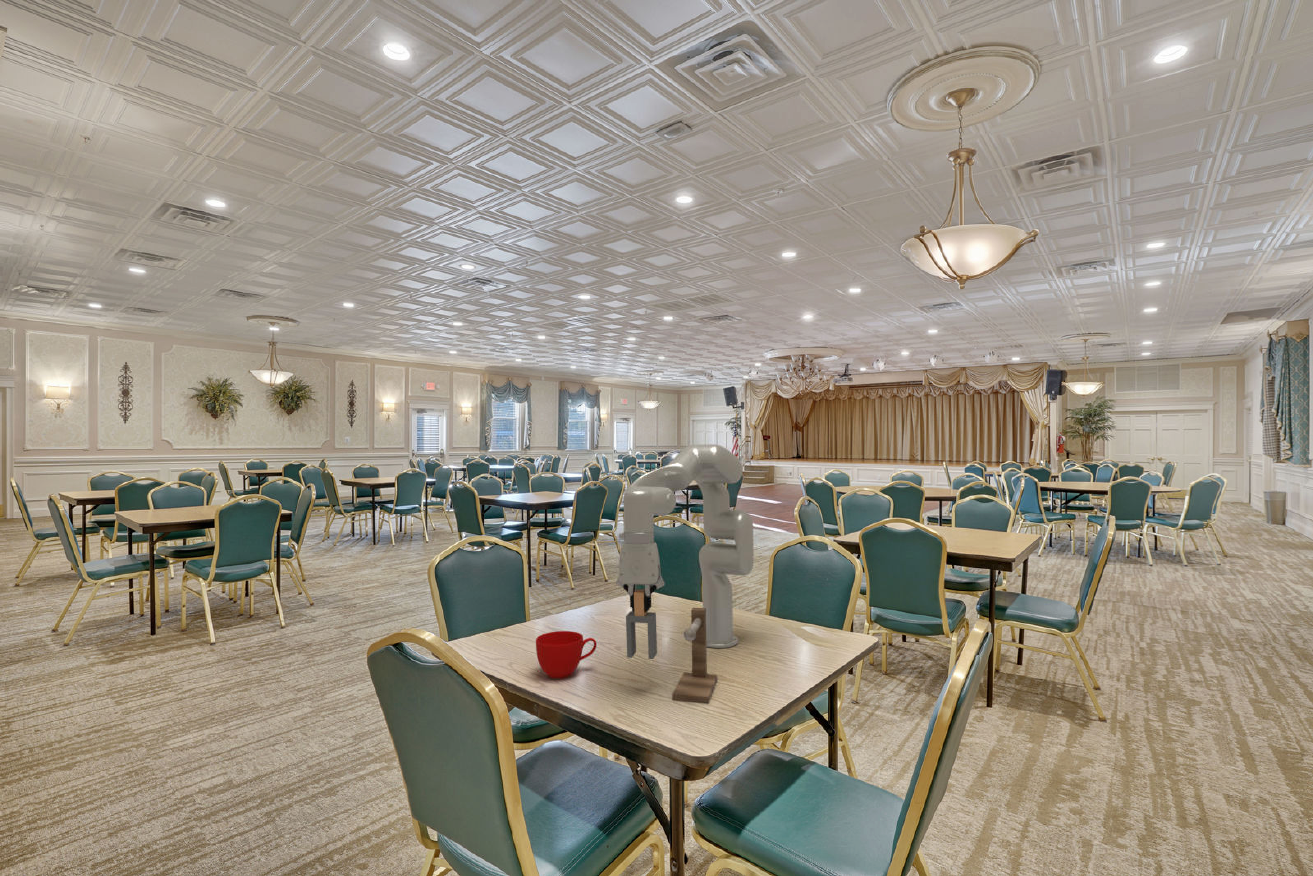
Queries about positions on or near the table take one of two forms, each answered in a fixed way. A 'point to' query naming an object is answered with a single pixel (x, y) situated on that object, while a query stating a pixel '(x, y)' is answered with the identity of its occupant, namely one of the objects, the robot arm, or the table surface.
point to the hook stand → (696, 664)
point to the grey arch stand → (641, 617)
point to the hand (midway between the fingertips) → (640, 610)
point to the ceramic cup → (561, 652)
